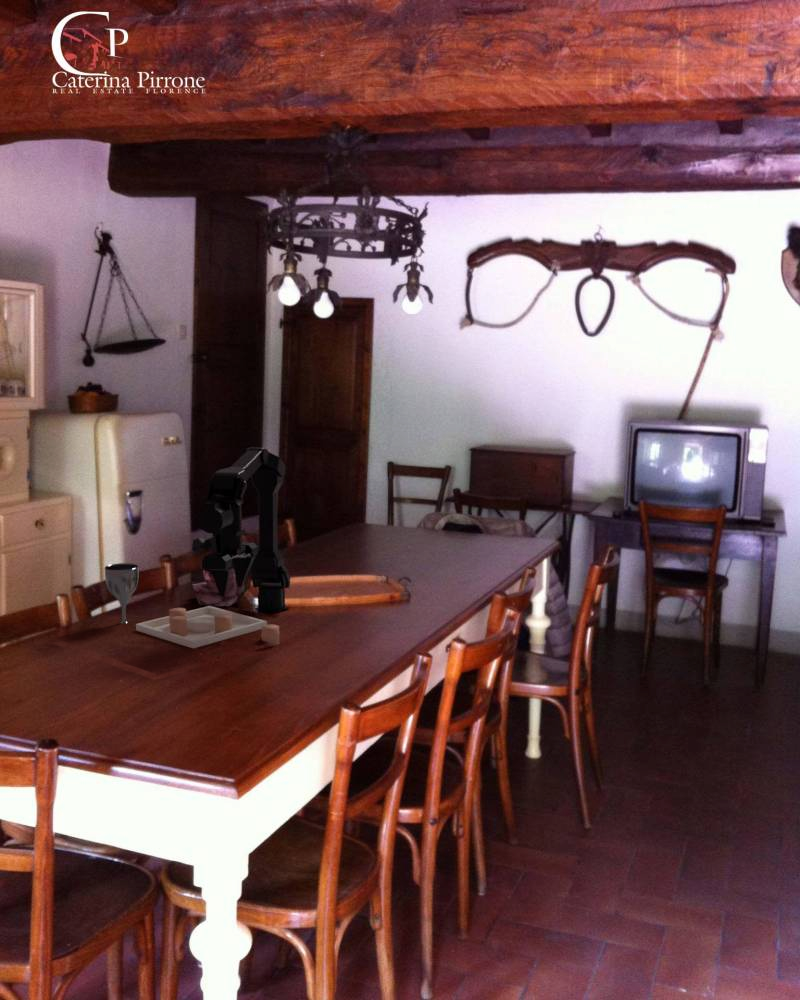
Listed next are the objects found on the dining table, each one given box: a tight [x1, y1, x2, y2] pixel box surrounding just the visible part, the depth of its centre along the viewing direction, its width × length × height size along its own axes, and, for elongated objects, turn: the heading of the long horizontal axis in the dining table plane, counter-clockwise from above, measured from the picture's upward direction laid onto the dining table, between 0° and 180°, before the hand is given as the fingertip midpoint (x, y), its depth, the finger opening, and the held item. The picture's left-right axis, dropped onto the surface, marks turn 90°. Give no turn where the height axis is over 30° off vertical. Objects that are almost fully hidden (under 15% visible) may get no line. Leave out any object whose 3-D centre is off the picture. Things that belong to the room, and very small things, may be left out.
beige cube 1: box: [214, 614, 232, 634], centre depth 237 cm, size 4×4×4 cm
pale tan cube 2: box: [261, 624, 280, 647], centre depth 232 cm, size 4×4×4 cm
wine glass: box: [104, 562, 140, 625], centre depth 246 cm, size 8×8×15 cm
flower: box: [191, 568, 251, 607], centre depth 266 cm, size 15×15×10 cm
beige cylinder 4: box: [168, 607, 187, 622], centre depth 243 cm, size 4×4×4 cm
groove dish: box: [135, 605, 268, 649], centre depth 241 cm, size 22×22×3 cm
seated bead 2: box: [170, 616, 188, 637], centre depth 236 cm, size 4×4×4 cm
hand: (231, 591), depth 235 cm, fingers open, 9 cm apart
